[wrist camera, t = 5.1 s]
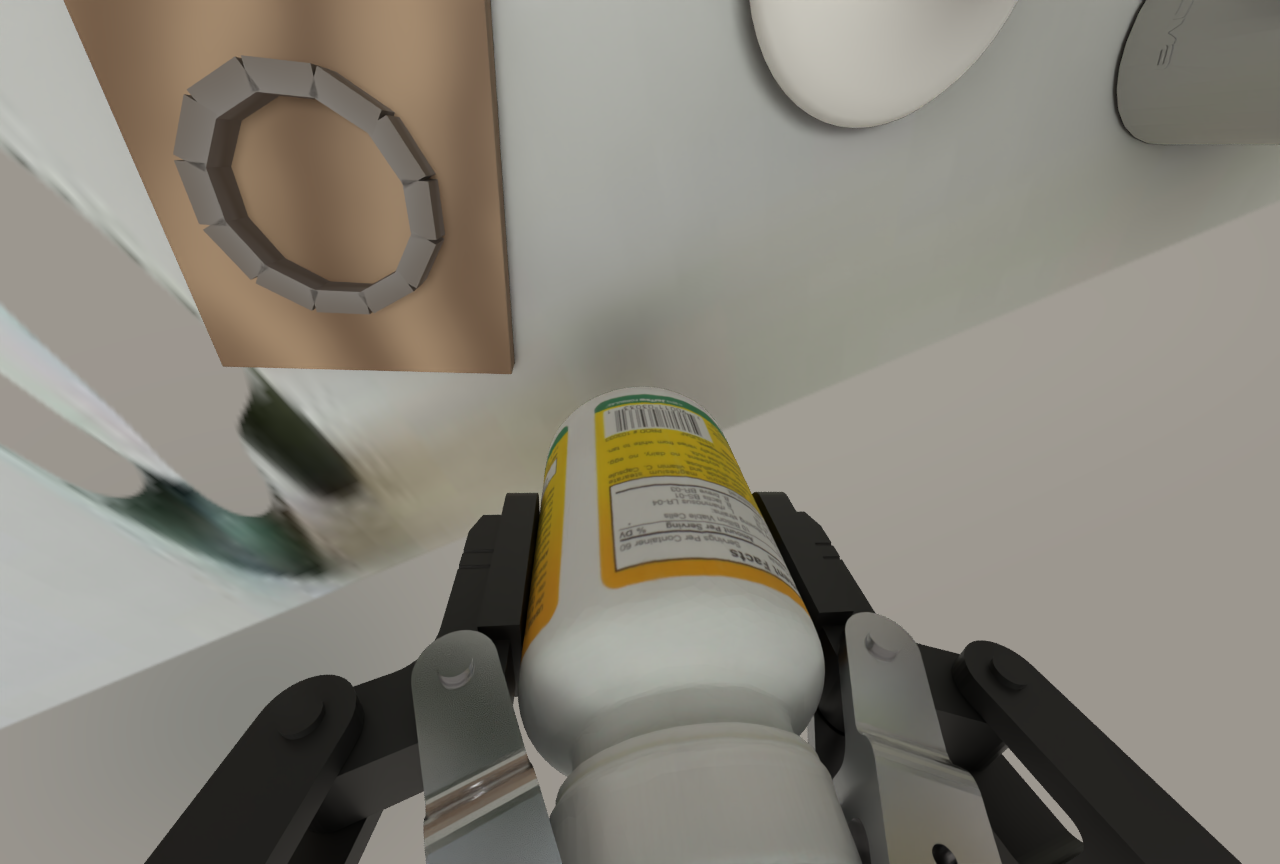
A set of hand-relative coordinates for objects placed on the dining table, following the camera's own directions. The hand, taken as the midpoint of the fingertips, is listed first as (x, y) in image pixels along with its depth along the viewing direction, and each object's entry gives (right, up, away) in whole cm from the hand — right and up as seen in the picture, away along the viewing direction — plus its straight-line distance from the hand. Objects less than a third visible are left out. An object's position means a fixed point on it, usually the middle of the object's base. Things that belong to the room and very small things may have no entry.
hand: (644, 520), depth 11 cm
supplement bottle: (0, +1, +2) cm, 3 cm away
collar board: (-14, +13, +9) cm, 21 cm away
